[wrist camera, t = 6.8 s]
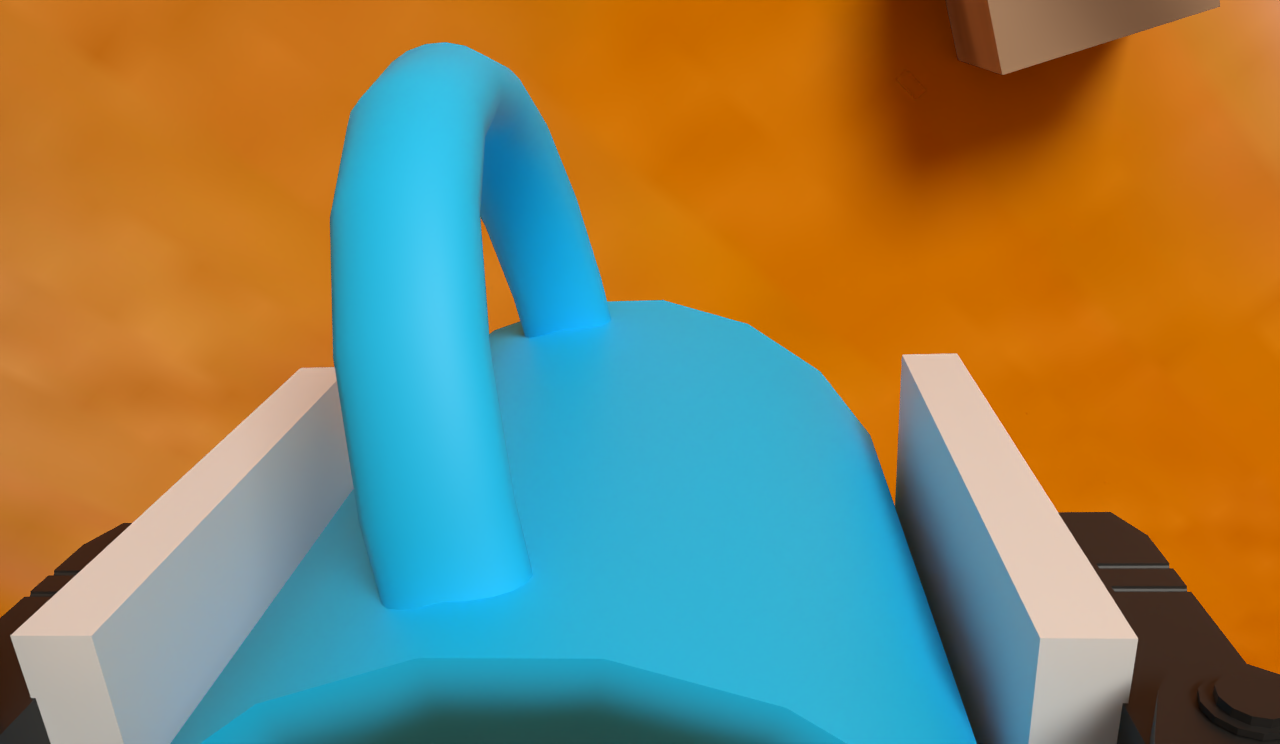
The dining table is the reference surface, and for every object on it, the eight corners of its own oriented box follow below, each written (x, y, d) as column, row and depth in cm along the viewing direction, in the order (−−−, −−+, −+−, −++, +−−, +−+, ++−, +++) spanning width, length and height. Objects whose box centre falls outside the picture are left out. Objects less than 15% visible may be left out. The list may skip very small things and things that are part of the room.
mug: (922, 720, 17) (1098, 1341, 9) (456, 774, 18) (263, 1367, 10) (819, -42, 12) (983, -86, 5) (222, 91, 14) (-399, 225, 6)
